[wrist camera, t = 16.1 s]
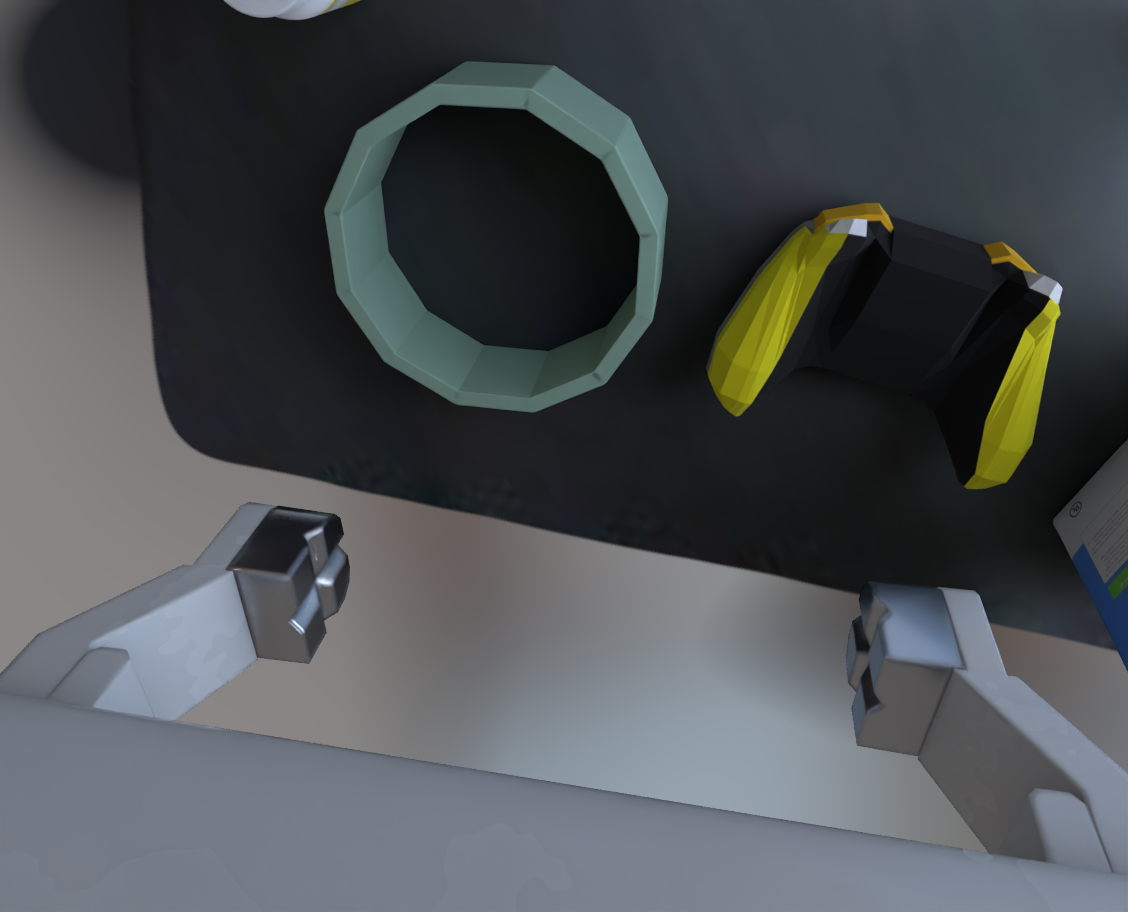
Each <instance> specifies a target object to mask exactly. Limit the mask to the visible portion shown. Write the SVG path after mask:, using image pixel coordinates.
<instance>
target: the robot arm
mask: <svg viewBox="0 0 1128 912" xmlns="http://www.w3.org/2000/svg"><path fill="white" fill-rule="evenodd" d="M343 535H344V533H343V528H342V523H341V519H340V517H338V516H337V515H335V514H331V513H324V512H317V511H311V510H304V509H297V508H290V507H284V506H272V505H266V504H259V503H252V502H249V503H246V504H244V505H242V506H241V507H239V509H238V510H237V511H236V512H235V514H234V515H233V516H232V517H231V519H230V520H229V521H228V522H227V523H226V525H225V526H224V527H223V529H222V530H221V531H220V532H219V533H218V535H217V536H216V537H215V538H214V540H213V541H212V542H211V543H210V544H209V546H208V547H207V548H206V549H205V551H204V552H203V553H202V554H201V555H200V557H199V558H198V559H197V560H196V562H195V563H194V564H193V565H192V566H189V565H182V566H180V567H178V568H176V569H173V570H171V571H169V572H167V573H165V574H163V575H161V576H159V577H157V578H154V579H152V580H150V581H148V582H146V583H144V584H142V585H140V586H138V587H136V588H133V589H131V590H129V591H127V592H125V593H123V594H121V595H119V596H117V597H114V598H113V599H110V600H108V601H107V602H104V603H102V604H100V605H98V606H96V607H93V608H91V609H89V610H87V611H85V612H83V613H81V614H79V615H77V616H75V617H72V618H70V619H68V620H66V621H64V622H62V623H60V624H58V625H56V626H54V627H52V628H49V629H47V630H45V631H43V632H41V633H39V634H37V635H36V636H35V638H34V639H33V640H32V641H31V642H30V643H29V644H28V645H27V646H26V647H25V648H24V649H23V650H22V652H20V653H19V654H18V655H17V656H16V658H15V659H14V660H13V661H12V662H11V663H10V664H9V665H8V666H7V667H6V668H5V669H4V670H3V671H2V672H1V674H0V912H1128V773H1126V772H1125V771H1124V770H1123V769H1122V768H1120V766H1118V765H1117V764H1116V763H1115V762H1114V761H1113V760H1112V759H1110V758H1109V757H1108V756H1107V755H1106V754H1105V753H1104V752H1102V751H1101V750H1100V749H1099V748H1098V747H1096V745H1094V744H1093V743H1092V742H1091V741H1090V740H1089V739H1087V738H1086V737H1085V736H1084V735H1083V734H1082V733H1081V732H1080V731H1078V730H1077V729H1076V728H1075V727H1074V726H1073V725H1071V724H1070V723H1069V722H1068V721H1067V720H1066V719H1065V718H1064V717H1062V716H1061V715H1060V714H1059V713H1058V712H1057V711H1056V710H1054V709H1053V708H1052V707H1051V706H1050V705H1049V704H1047V702H1045V701H1044V700H1043V699H1042V698H1041V697H1040V696H1039V695H1037V694H1036V693H1035V692H1034V691H1033V690H1032V689H1030V688H1029V687H1028V686H1027V685H1026V684H1025V683H1024V682H1023V681H1021V680H1020V679H1019V678H1018V677H1012V676H1007V674H1006V671H1005V669H1004V666H1003V663H1002V660H1001V657H1000V654H999V651H998V648H997V646H996V642H995V640H994V636H993V634H992V631H991V628H990V625H989V622H988V619H987V616H986V613H985V610H984V607H983V604H982V602H981V599H980V596H979V595H978V594H977V593H976V592H975V591H972V590H962V589H953V588H943V587H938V588H935V587H928V586H919V585H911V584H902V583H894V582H885V581H876V580H868V579H867V580H866V582H865V583H864V585H863V587H862V591H861V594H860V597H859V603H860V609H861V616H859V617H858V618H856V619H855V620H853V621H852V626H851V629H850V634H849V637H848V645H847V654H846V660H847V661H846V662H847V676H848V683H849V685H850V686H851V687H852V688H853V689H854V690H855V691H856V695H855V698H854V701H853V705H852V715H853V721H854V729H855V736H856V743H857V746H863V747H868V748H874V749H879V750H886V751H891V752H897V753H902V754H908V755H914V756H919V757H918V760H919V761H920V762H921V764H922V765H923V767H924V768H925V769H926V770H927V772H928V773H929V774H930V776H931V777H932V778H933V780H934V781H935V782H936V784H937V785H938V786H939V788H940V789H941V790H942V792H943V793H944V794H945V795H946V797H947V798H948V800H949V801H950V802H951V803H952V805H953V806H954V808H955V809H956V810H957V811H958V813H959V814H960V815H961V817H962V818H963V819H964V821H965V822H966V823H967V825H968V826H969V827H970V829H971V830H972V831H973V833H974V834H975V835H976V837H977V838H978V839H979V840H980V842H981V843H982V844H983V846H984V847H985V848H986V850H987V851H988V852H989V853H986V852H980V851H974V850H968V849H962V848H955V847H949V846H943V845H936V844H931V843H924V842H918V841H912V840H906V839H900V838H894V837H888V836H882V835H875V834H869V833H863V832H857V831H851V830H844V829H838V828H832V827H826V826H819V825H813V824H807V823H801V822H795V821H788V820H782V819H776V818H770V817H764V816H757V815H751V814H746V813H739V812H734V811H727V810H721V809H715V808H709V807H703V806H696V805H691V804H685V803H679V802H673V801H666V800H660V799H654V798H648V797H641V796H636V795H630V794H624V793H618V792H611V791H605V790H599V789H593V788H586V787H580V786H574V785H568V784H562V783H556V782H550V781H544V780H538V779H531V778H525V777H519V776H513V775H507V774H500V773H494V772H488V771H482V770H476V769H470V768H464V767H457V766H451V765H445V764H439V763H433V762H427V761H420V760H414V759H408V758H402V757H396V756H390V755H383V754H377V753H371V752H364V751H359V750H353V749H347V748H340V747H334V746H328V745H321V744H316V743H310V742H303V741H297V740H291V739H285V738H279V737H273V736H267V735H260V734H254V733H248V732H241V731H236V730H230V729H224V728H217V727H210V726H205V725H199V724H193V723H187V722H181V721H176V720H177V719H178V718H180V717H181V716H182V715H184V714H185V713H186V712H188V711H189V710H191V709H192V708H193V707H195V706H196V705H197V704H199V703H200V702H202V701H203V700H204V699H206V698H207V697H208V696H210V695H211V694H212V693H214V692H215V691H217V690H218V689H219V688H221V687H222V686H223V685H225V684H226V683H228V682H229V681H230V680H232V679H233V678H234V677H236V676H237V675H238V674H240V673H241V672H242V671H244V670H245V669H247V668H248V667H249V666H251V665H252V664H253V663H255V662H256V661H257V660H258V659H257V658H265V659H274V660H282V661H290V662H298V663H307V664H309V663H310V661H311V659H312V658H313V656H314V654H315V652H316V650H317V648H318V647H319V645H320V643H321V642H322V640H323V638H324V636H325V634H326V628H325V623H324V620H326V619H327V618H329V617H331V616H332V615H334V614H335V613H337V612H338V611H339V609H340V607H341V605H342V603H343V601H344V599H345V596H346V592H347V589H348V584H349V576H350V574H349V573H350V566H349V560H348V555H347V554H346V553H345V552H344V551H343V550H342V549H341V548H340V547H339V546H338V543H339V542H340V540H341V538H342V537H343Z"/></svg>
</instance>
